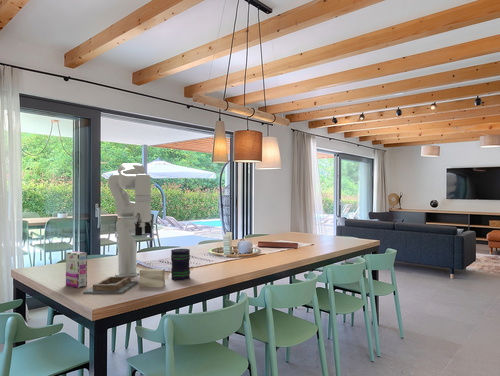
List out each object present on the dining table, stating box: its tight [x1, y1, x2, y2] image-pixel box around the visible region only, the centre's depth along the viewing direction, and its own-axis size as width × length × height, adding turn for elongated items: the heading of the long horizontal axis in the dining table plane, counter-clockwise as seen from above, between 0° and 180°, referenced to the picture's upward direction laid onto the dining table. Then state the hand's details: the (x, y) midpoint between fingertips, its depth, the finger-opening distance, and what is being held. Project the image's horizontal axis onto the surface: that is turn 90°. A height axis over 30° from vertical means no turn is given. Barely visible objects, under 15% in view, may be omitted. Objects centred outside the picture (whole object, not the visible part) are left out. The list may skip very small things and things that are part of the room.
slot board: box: [83, 275, 140, 295], centre depth 172 cm, size 20×18×4 cm
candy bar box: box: [65, 250, 88, 289], centre depth 177 cm, size 11×5×16 cm, turn 56°
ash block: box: [139, 268, 166, 288], centre depth 175 cm, size 4×11×8 cm, turn 87°
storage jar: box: [170, 248, 191, 282], centre depth 190 cm, size 10×10×15 cm
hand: (143, 234), depth 175 cm, fingers open, 9 cm apart
